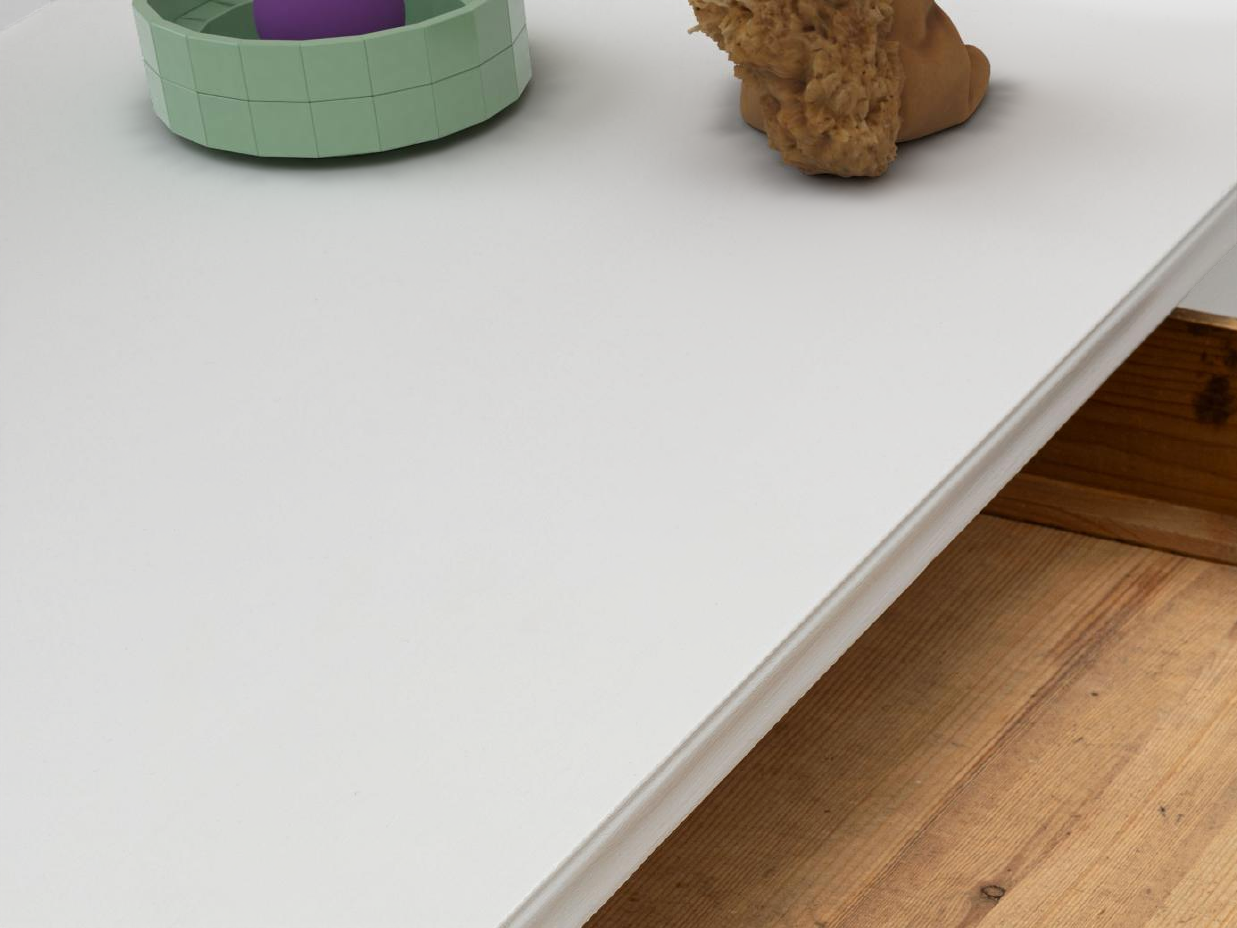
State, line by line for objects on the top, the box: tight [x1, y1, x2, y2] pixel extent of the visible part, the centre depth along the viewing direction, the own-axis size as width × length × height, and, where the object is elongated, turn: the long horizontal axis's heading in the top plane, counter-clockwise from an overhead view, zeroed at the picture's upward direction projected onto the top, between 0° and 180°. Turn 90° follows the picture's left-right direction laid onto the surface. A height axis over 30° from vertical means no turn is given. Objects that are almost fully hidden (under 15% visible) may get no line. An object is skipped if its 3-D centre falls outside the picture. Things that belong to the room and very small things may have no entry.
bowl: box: [131, 0, 533, 159], centre depth 104 cm, size 15×15×5 cm
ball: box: [253, 0, 406, 41], centre depth 104 cm, size 6×6×6 cm
